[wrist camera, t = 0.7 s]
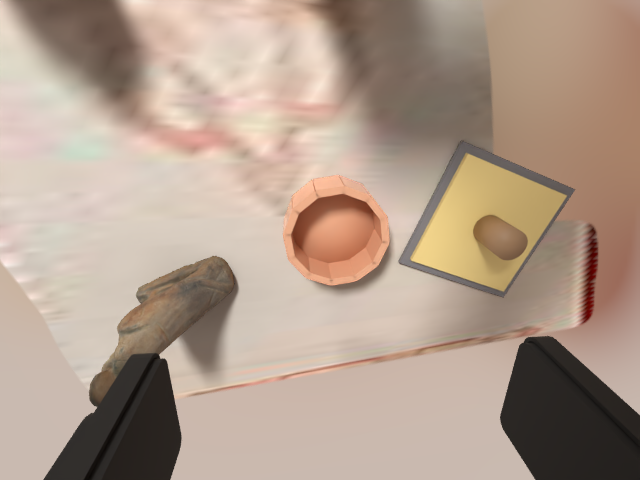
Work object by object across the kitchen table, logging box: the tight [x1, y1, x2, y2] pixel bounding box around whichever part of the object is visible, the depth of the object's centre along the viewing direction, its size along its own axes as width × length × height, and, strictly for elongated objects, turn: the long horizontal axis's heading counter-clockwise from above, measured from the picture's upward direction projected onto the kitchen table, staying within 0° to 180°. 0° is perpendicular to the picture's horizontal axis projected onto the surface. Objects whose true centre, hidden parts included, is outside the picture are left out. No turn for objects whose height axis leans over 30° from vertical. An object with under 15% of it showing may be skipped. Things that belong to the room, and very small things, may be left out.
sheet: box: [410, 153, 567, 292], centre depth 40 cm, size 14×14×6 cm
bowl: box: [283, 175, 390, 286], centre depth 39 cm, size 11×11×5 cm
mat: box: [399, 141, 574, 297], centre depth 43 cm, size 16×16×1 cm
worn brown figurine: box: [89, 256, 234, 407], centre depth 37 cm, size 12×6×18 cm, turn 107°
